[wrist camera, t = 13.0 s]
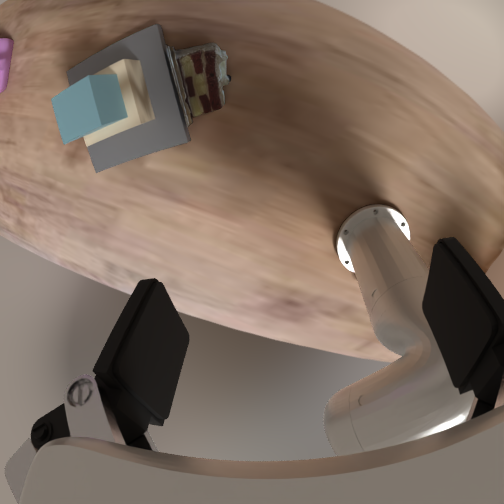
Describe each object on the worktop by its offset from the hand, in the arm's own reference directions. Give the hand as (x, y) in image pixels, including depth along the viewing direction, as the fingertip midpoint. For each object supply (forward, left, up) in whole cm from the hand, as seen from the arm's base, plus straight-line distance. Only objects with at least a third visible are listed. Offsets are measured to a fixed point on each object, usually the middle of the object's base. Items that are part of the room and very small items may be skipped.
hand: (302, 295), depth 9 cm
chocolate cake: (+10, +8, -31) cm, 33 cm away
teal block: (+11, +20, -24) cm, 33 cm away
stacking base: (+11, +20, -30) cm, 38 cm away
